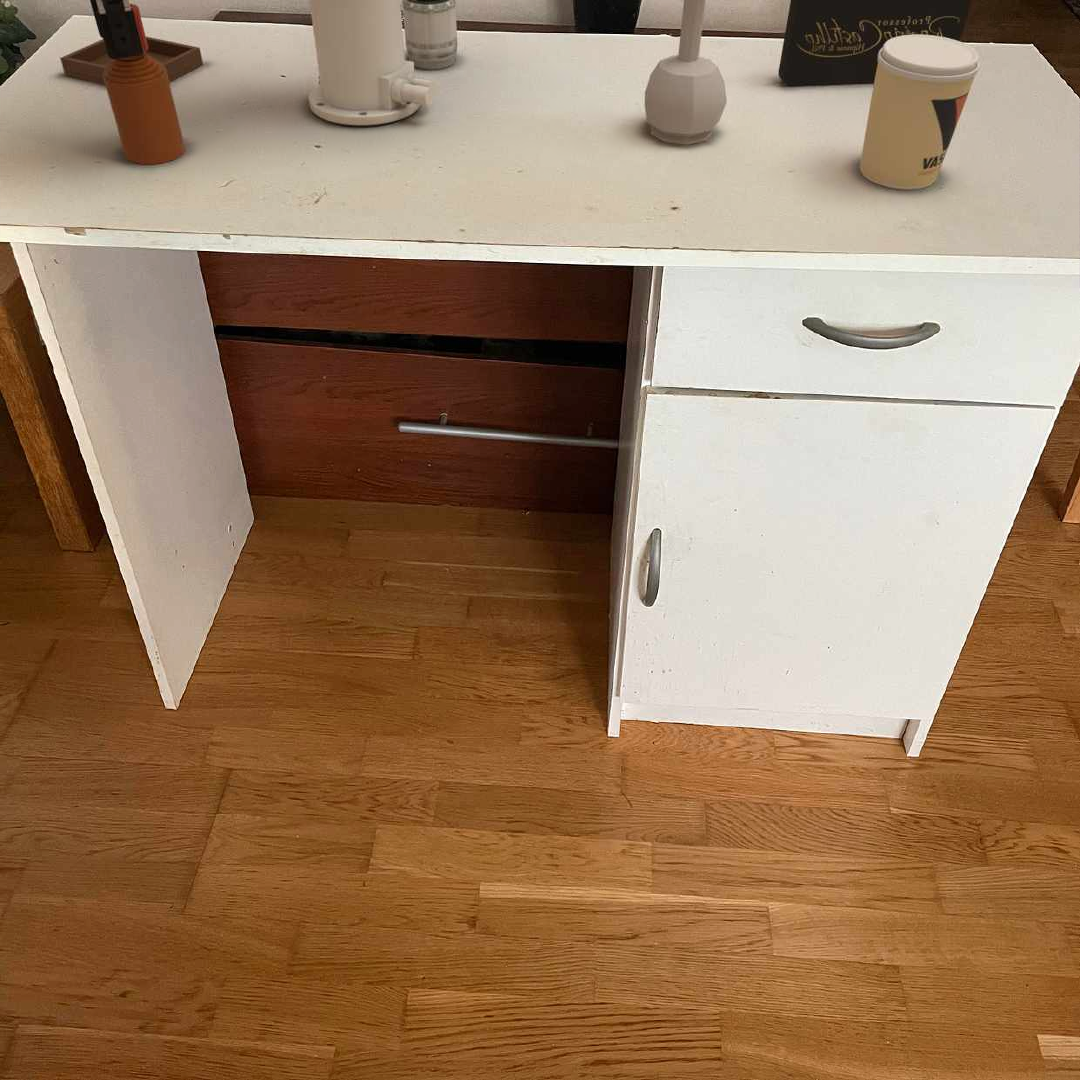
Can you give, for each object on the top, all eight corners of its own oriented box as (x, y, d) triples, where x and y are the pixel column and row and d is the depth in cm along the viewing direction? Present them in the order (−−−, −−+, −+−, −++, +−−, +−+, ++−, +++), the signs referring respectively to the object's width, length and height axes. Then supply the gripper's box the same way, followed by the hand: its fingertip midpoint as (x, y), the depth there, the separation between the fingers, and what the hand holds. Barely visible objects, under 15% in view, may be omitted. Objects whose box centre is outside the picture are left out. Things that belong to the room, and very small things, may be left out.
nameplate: (942, 74, 124) (967, -16, 116) (948, 80, 122) (975, -11, 115) (776, 80, 121) (792, -11, 114) (781, 86, 120) (797, -5, 113)
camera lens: (456, 51, 127) (453, -18, 121) (459, 69, 123) (457, -1, 117) (405, 52, 126) (400, -17, 121) (407, 71, 122) (402, 1, 116)
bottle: (197, 146, 107) (166, 13, 97) (159, 169, 103) (123, 32, 93) (151, 135, 108) (117, 4, 99) (112, 157, 104) (73, 22, 95)
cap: (156, 45, 99) (146, 5, 97) (136, 58, 97) (125, 17, 94) (122, 41, 100) (111, 1, 97) (101, 54, 97) (89, 13, 95)
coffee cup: (929, 202, 100) (967, 76, 91) (838, 178, 103) (866, 55, 95) (955, 167, 105) (993, 45, 97) (868, 145, 109) (898, 26, 100)
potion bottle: (730, 123, 112) (756, -60, 100) (705, 154, 107) (729, -36, 94) (656, 109, 115) (672, -71, 102) (627, 138, 109) (641, -48, 97)
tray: (203, 64, 123) (199, 47, 121) (146, 94, 116) (141, 76, 115) (125, 48, 126) (120, 30, 125) (65, 75, 120) (59, 57, 118)
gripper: (122, -166, 81) (177, 71, 93) (94, -203, 91) (147, 13, 104) (22, -158, 78) (92, 83, 91) (6, -198, 89) (71, 23, 102)
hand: (121, 43), depth 98 cm, fingers open, 5 cm apart
